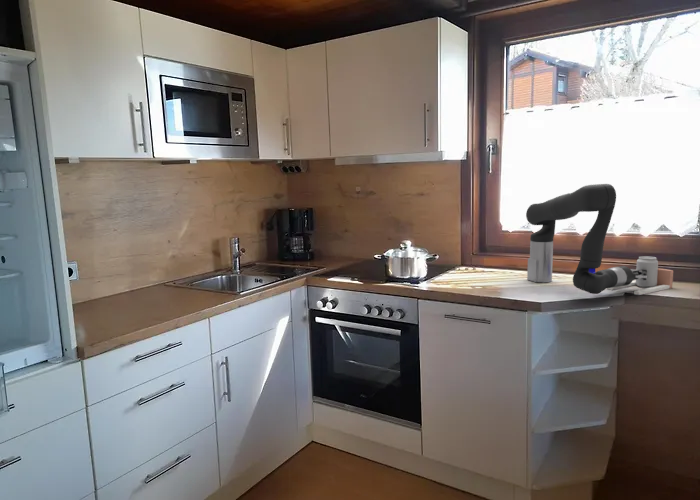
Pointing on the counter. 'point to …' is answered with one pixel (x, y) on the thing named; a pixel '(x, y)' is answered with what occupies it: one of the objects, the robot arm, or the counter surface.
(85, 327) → the counter surface
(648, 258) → the can
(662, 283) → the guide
